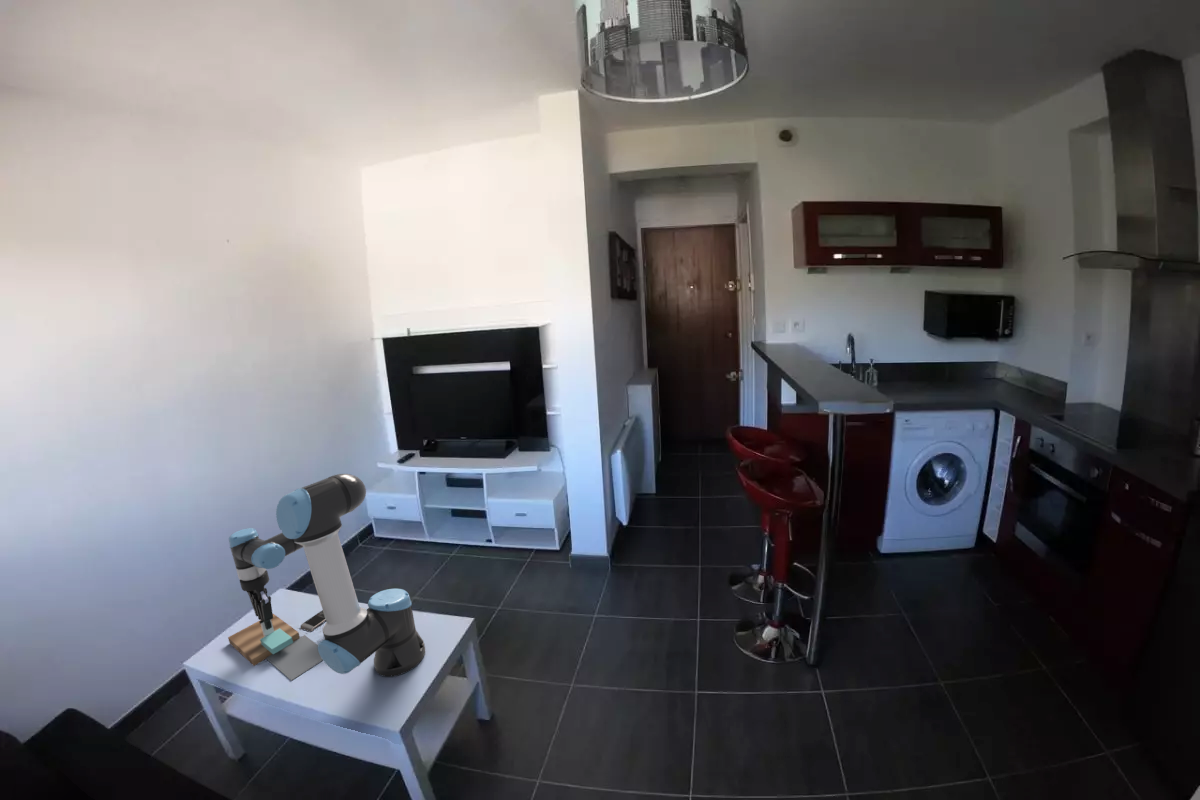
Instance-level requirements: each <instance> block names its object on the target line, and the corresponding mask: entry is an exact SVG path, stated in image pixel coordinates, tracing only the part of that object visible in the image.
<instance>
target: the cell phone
mask: <svg viewBox="0 0 1200 800" xmlns="http://www.w3.org/2000/svg"><path fill="white" fill-rule="evenodd" d="M325 622H326V619H325V615H324V612H323V609H321V610H320V611H318V613H316V614H314V615H313V616H312V617H310V618H309V619H307V620H306V621H304V622H302V623H301V624H300V629H301V630H303V631H306V632H312V631H314V630H316V629H317V628H318V627H320V626H321V625H323V624H324V623H325Z"/></svg>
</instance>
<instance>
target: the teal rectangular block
mask: <svg viewBox="0 0 1200 800" xmlns="http://www.w3.org/2000/svg"><path fill="white" fill-rule="evenodd" d="M260 641H261V645H263V646H264V647H265V648H266V649H267V650H269V651H270V652H271V653H272V654H275V653H277V652H278V651H280V650H282V649H283V648H285V647H287V646H288V645H290V644H292V643H293V640H292V637H290V636H289V635H288V634H287V633H285V632H284V631H283V630H281V629H280V628H279V629H278V630H276V631H274V632H272V633H271V634H269V635H267V636H265V637H263V638H262V639H260Z"/></svg>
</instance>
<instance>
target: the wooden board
mask: <svg viewBox="0 0 1200 800" xmlns="http://www.w3.org/2000/svg"><path fill="white" fill-rule="evenodd" d="M259 621H260V620H258V621H256V622H254V623H252V624H251V625H249V626H247V627H245V628H243V629H241V630H239V631H237V632H235V633H234V634H231V635H229V636H228V637H227V639H228V643H229V644H230V646H231V647H232V648H234V649H235V650H236V651H237V652H239V654H240V655H241V656H243V658H245V660H247V661H248V662H249V663H250V664H251V665H252V666H253V667H255V666H256V665H258V664H260V663H261V662H262V663H263V661H265V660H267V659H266V658H267V657H268V656H270V655H272V653H271V652H270V651H269V650H267V649H266V648H265V647H264V646H263V645H261V641H260V639H262V638H263V637H264V635H263V631H262V627H261V624H260V623H259ZM271 621H272V625H273V628H274V631H276V630H278V629H279V628H280V629H281V630H283V631H284V632H285V633H287V634H288V635H289V636H290V637H292V640H293V642H294V641H295V640H297V639H299V638H300V632H299V631H298V630H296V629H295V628H294V627H292V626H291V625H290V624H288V623H287V622H285V620H283V619H281V618H280V617H279V616H278V615H276V614H274V613H273V619H271Z"/></svg>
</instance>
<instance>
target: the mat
mask: <svg viewBox="0 0 1200 800" xmlns="http://www.w3.org/2000/svg"><path fill="white" fill-rule="evenodd" d="M265 660H267V661H268V662H269V663H271V665H272V666H273V667H275V668H276V669H277V670H278V671H280V673H282V675H284V676H285V677H286V678H288V679H289V680H290V682H292V681H294V680H295V679H297V678H298V677H300V676H301V675H303V674H304V673H306V672H307V671H309V670H310V669H312V668H314V667H315V666H317V665H318V664H319V663H322V662H324V661H323V659H322V658H321V656H320V654H319V652H318V643H316V642H315V641H313V640H312V639H311V638H309V637H308V636H307V635H305V634H304V635H302V636H301V637H300V638H299V639H297V640H295V641H294V642H293V643H292V644H290V645H288V646H287V647H285V648H283V649H282V650H280V651H278V652H277V653H275V654H272V655H270V656H268V657H267V658H266V659H265Z"/></svg>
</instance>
